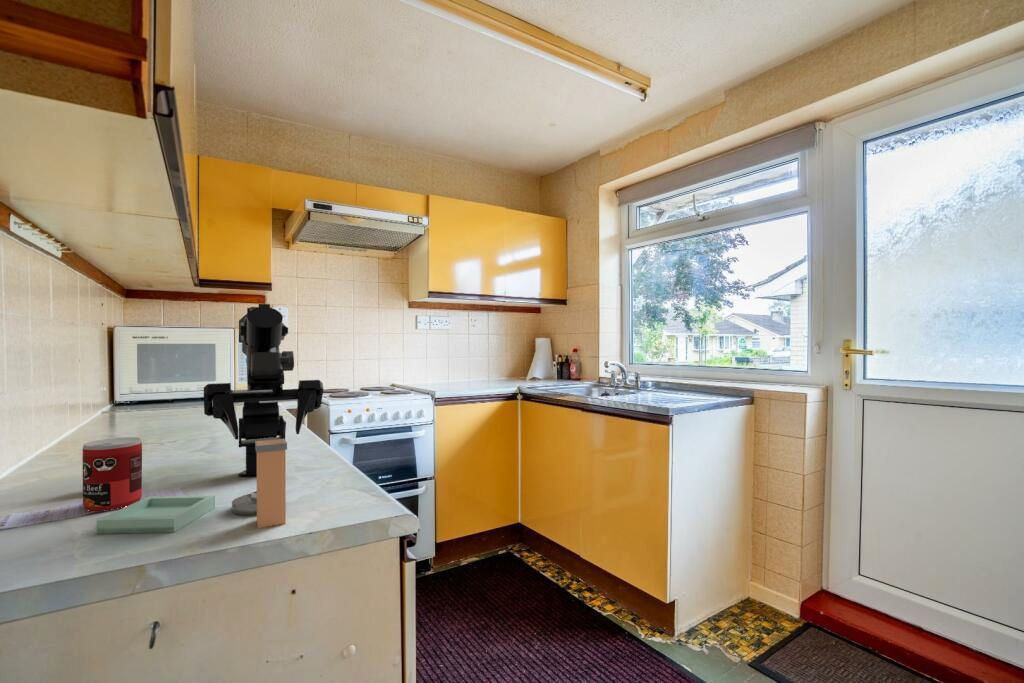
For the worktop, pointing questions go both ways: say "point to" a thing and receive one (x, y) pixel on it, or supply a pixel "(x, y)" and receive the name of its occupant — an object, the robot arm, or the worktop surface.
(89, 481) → the canned food
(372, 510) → the worktop surface
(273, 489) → the grey-capped orange pillar
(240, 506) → the metal lid
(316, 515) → the worktop surface
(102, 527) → the tray
